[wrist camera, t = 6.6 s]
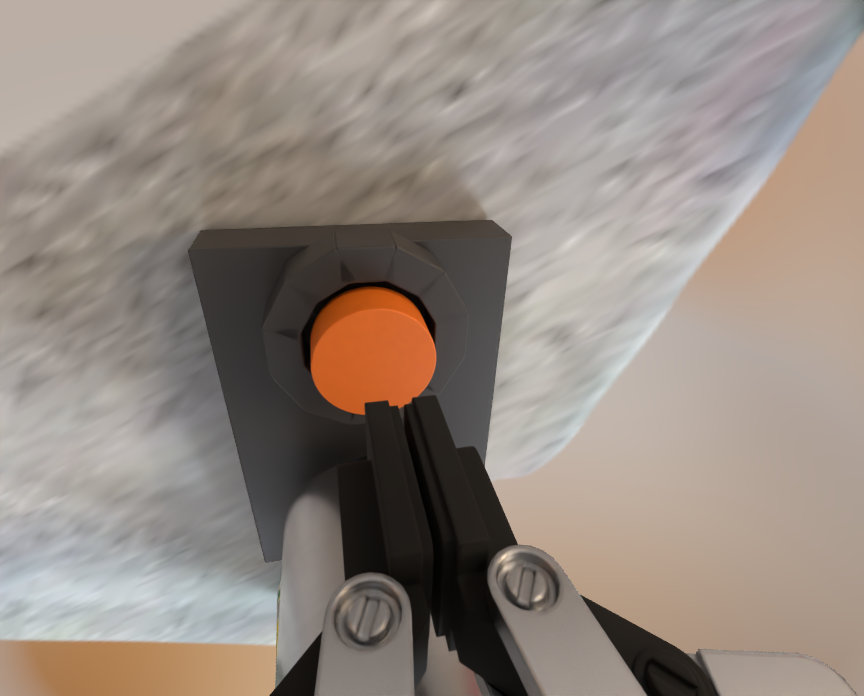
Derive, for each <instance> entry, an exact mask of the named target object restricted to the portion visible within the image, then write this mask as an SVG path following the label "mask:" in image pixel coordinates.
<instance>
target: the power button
mask: <svg viewBox="0 0 864 696" xmlns="http://www.w3.org/2000/svg"><path fill="white" fill-rule="evenodd" d="M310 345H311V374H312V378H313V381H314V383H315V386H316V387H317V389H318V391H319V392H320V393H321V395H322V396H323V397H324V398H325V399H326V400H327V401H328V402H330V403H331V404H333V405H334V406H336V407H338V408H340V409H342V410H344V411H347V412H351V413H354V414H361V415H365V403H367V402H376V401H385V400H388V402H389V405H390V406H395V405H398V408H401V407H403V406H404V405H405V404H408V403H410V402H411V401H412V398H413V397H418V396H419V395H420V394H421V393H422V392H423V390H424V389H425V388H426V387H427V385H428V383H429V382H430V380H431V378H432V376H433V373H434V370H435V366H436V349H435V345H434V342H433V339H432V337H431V335H430V333H429V330H428V328H427V326H426V324H425V322H424V319H423V317H422V315H421V313H420V311H419V310H418V308H417V307H416V306H415V305H414V304H413V303H412V302H411V301H410V300H409V299H408V298H407V297H405V296H404V295H402V294H400V293H398V292H396V291H394V290H391V289H387V288H383V287H375V286H371V287H359V288H355V289H351V290H349V291H346V292H344V293H342V294H340V295H338V296H336V297H335V298H333V299H332V300H330V301H329V302H328V303H327V304H326V305H325V306H324V307H323V308H322V310H321V311H320V312H319V314H318V315H317V317H316V319H315V321H314V323H313V326H312V330H311V337H310Z"/></svg>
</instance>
